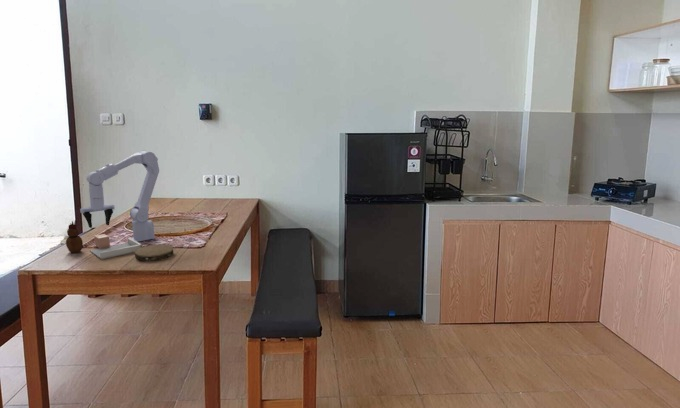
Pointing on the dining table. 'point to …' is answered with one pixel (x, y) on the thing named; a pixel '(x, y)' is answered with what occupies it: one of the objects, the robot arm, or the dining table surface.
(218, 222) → the dining table surface
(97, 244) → the terracotta block
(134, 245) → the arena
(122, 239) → the dining table surface
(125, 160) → the robot arm
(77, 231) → the wooden figurine
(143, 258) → the wooden log slice
